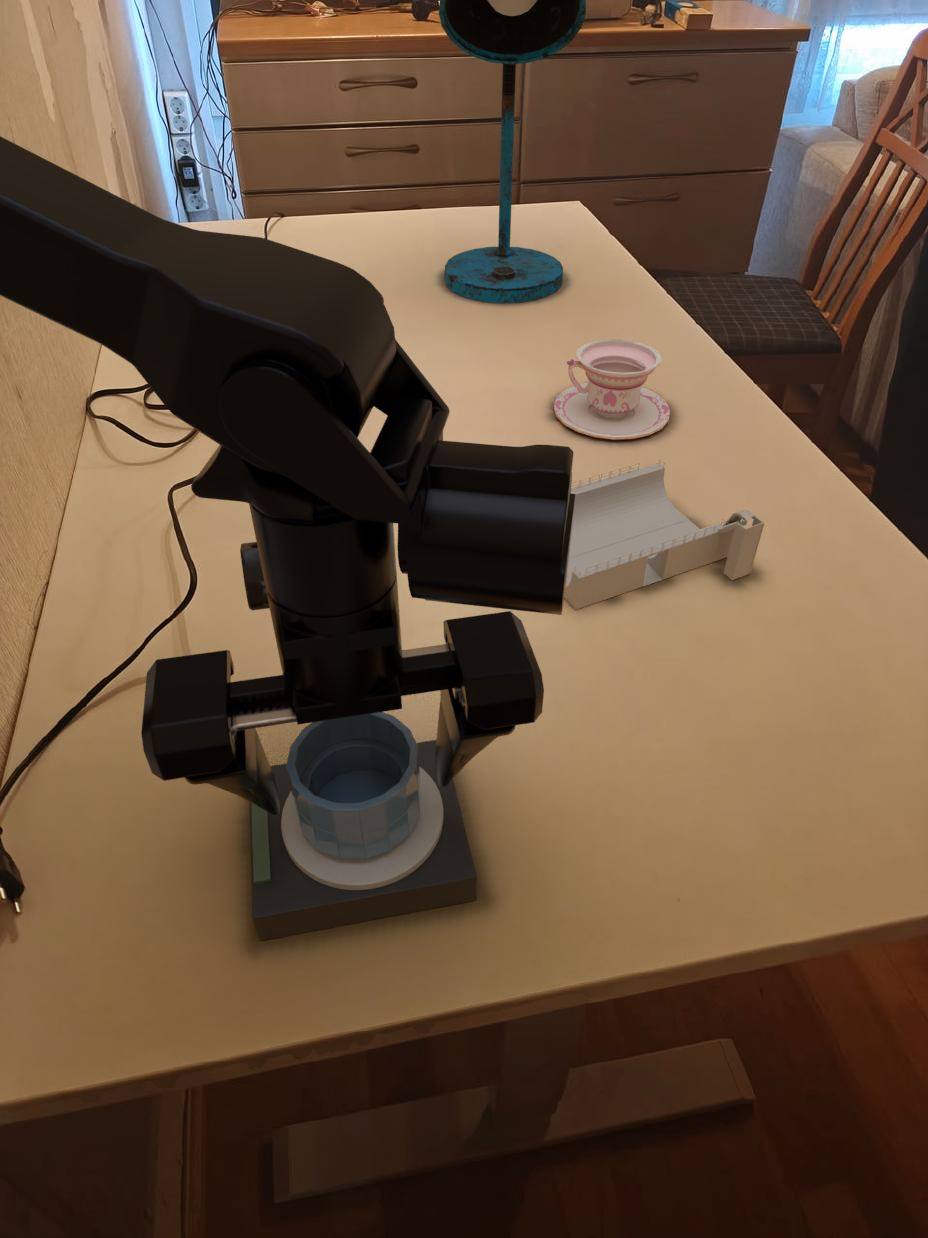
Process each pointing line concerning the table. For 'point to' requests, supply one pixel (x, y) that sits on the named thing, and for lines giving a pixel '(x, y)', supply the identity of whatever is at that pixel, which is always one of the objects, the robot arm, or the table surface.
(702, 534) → the skate ramp
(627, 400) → the teacup
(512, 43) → the desk lamp
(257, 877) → the scale
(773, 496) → the table surface
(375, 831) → the bowl
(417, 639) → the table surface
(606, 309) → the table surface
